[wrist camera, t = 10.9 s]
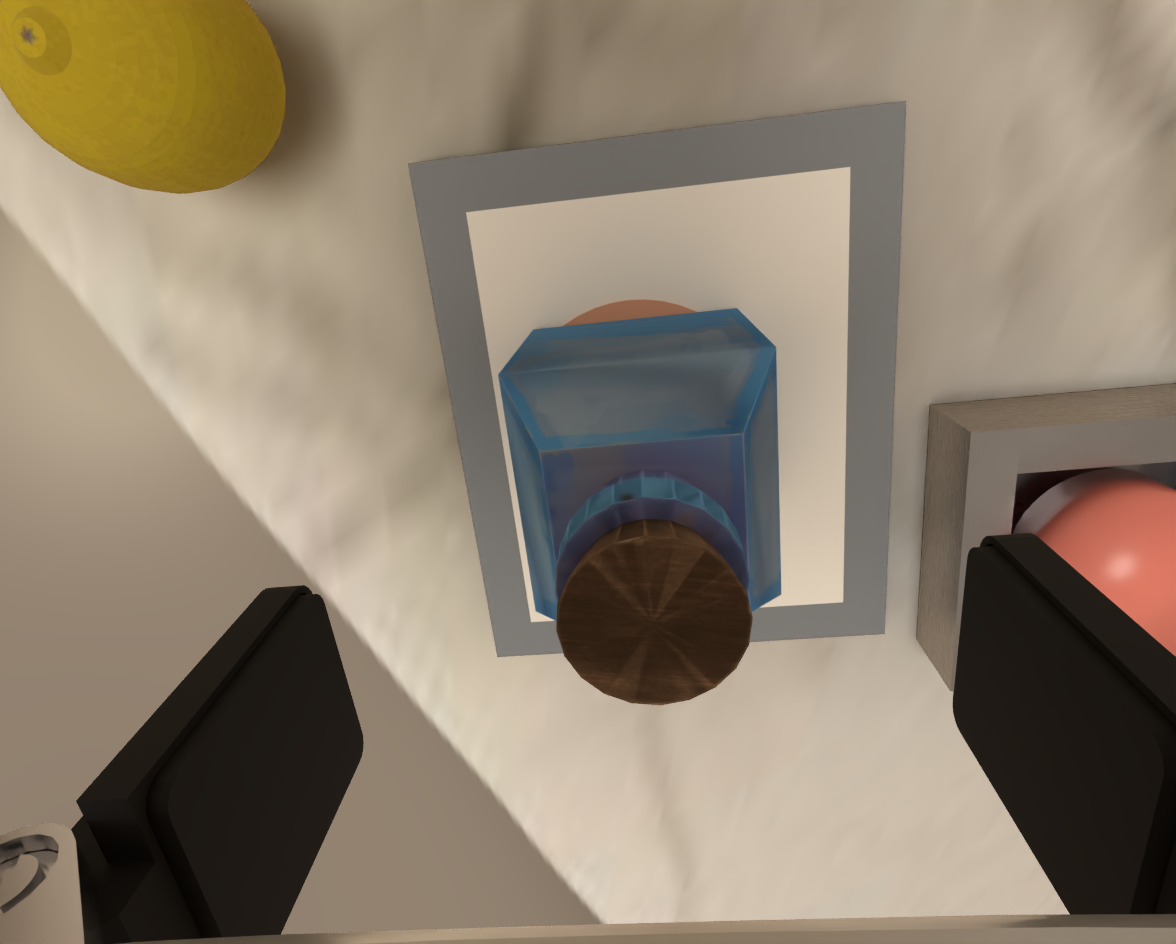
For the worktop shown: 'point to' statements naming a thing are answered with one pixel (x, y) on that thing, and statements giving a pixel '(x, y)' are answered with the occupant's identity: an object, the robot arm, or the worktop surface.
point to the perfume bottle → (648, 494)
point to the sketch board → (687, 285)
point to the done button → (1116, 541)
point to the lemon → (146, 87)
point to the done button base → (1021, 478)
